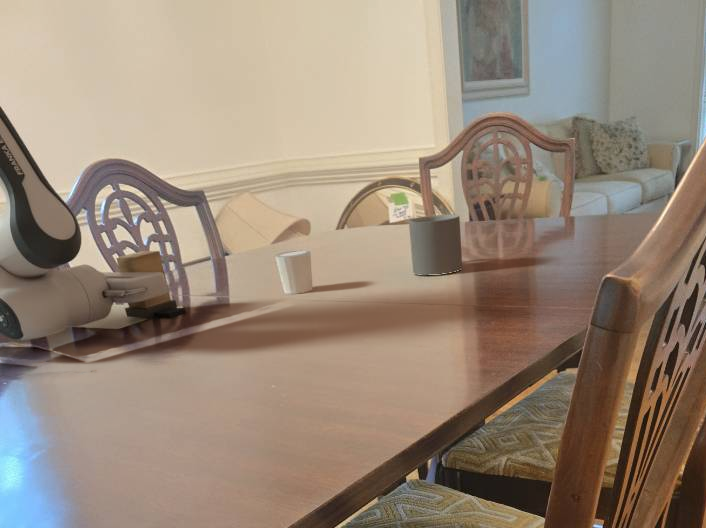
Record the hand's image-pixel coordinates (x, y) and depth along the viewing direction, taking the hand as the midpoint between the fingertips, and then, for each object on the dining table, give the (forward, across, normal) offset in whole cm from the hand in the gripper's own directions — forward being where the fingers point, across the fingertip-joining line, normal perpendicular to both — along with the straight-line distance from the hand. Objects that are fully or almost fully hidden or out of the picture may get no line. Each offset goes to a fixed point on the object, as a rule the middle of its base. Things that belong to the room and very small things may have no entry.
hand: (147, 276), depth 136 cm
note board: (-3, +9, +7) cm, 12 cm away
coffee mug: (+45, -34, +8) cm, 57 cm away
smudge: (-1, -5, +6) cm, 8 cm away
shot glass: (+24, -14, +8) cm, 29 cm away
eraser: (-1, 0, +6) cm, 6 cm away
